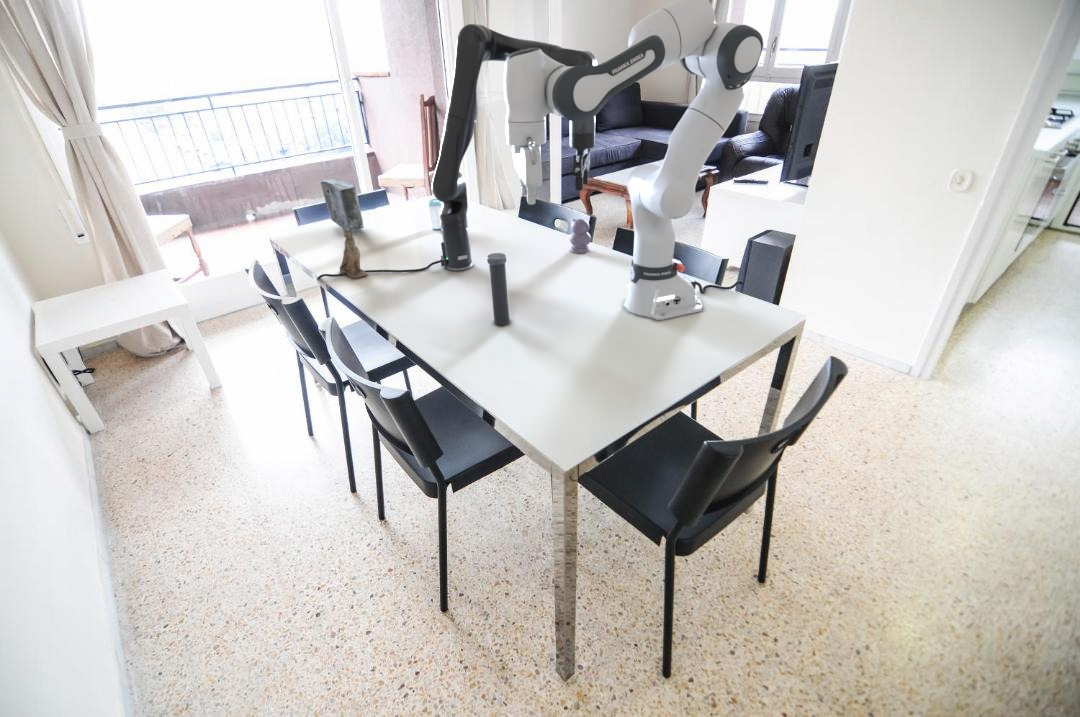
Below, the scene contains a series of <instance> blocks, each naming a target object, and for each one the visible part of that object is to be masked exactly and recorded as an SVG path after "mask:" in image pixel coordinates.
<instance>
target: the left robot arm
mask: <svg viewBox="0 0 1080 717" xmlns="http://www.w3.org/2000/svg"><path fill="white" fill-rule="evenodd" d="M529 48H540V49H541V50H542V52H543V53H545V54H546V55H547V56H549V57H550V58H552V59H553V60H555V61H557V62H559V63H561V64H564V65H565V66H584V65H586V66H595V65H598V60H597V57H596V56H595V54H594V53H592V51H589V50H578V49H572V48H566V47H562V46H560V45H557V44H552V43H549V42H543V41H538V40H530V39H522V38H516V37H512V36H509V35H505V34H503V33H501V32H498V31H496V30H493V29H491V28H488V27H486V26H485V25H483V24H477V23H468V24H466V25H464V26H462V28H461V29H460V31H459V32H458V35H457V38H456V45H455V55H454V56H455V57H454V58H455V59H454V70H453V75H452V76H453V78H452V81H451V82H452V83H451V87H450V91H449V99H448V103H447V108H446V113H445V119H444V125H443V132H442V137H441V142H440V149H439V155H438V160H437V164H436V166H435V171H434V173H433V177H432V182H431V191H432V194H433V197H434V198H435V199H437V200H439V201H440V202H443V203H442V208H441V211H440V214H439V215H440V223H441V229H440V230H441V235H442V242H441V243H440V246H441V250H442V251H441V253H442V255H440V260H435V261H433V262H431V263H429V264H428V265H427V266H424V267H421V268H415V269H413V268H412V269H367V270H366V269H365V270H364V271H365V273H366V274H368V273H414V272H415V273H417V272H422V271H425V270H429V268H431V267H432V266H433V265H437V264H440V267H444V269H445V270H449V271H454V272H459V271H467V270H469V269H471V268H472V266H473V260H472V250H471V242H470V234H469V224H468V216H467V213H468V209H469V208H468V207H469V206H468V191H467V183H466V180H465V178H464V176H463V174H462V173H461V172H460V169H461V165H462V162H463V159H464V156H465V155H466V152H467V150H468V149H469V147H470V144H471V141H472V140H473V137H474V133H475V128H476V124H477V119H478V110H479V109H478V108H479V107H478V106H479V105H478V81H479V77H480V73H481V68H482V65H483V63H485V62H490V61H491V62H505V61H506V59H507V57H508V56H509V55H510V54H511V53H513V52H516V51H519V50H523V49H529ZM595 144H596V115H595V116H594V117H593V118H591V119H590V120H588V121H585V122H580V123H578V122H572V121H570V120H569V148H571V149H574V150H576V151H575V152H576V153H575V154H573V155H572V156H573V157H572V158H573V171H572V172H573V173H572V175H573V177H574V178H575V180H574V182H575V185H574V186H575V188H574V189H575V190H576V191H583V189H584V185H588V183H589V172H590V167H591V149H594V147H595ZM343 276H344V277H345V276H347V273H336V274H333V273H323V274H320V275H319V276H317V278H316V280H321V279H322V278H323V277H329V278H330V277H332V278H335V277H336V278H337V277H338V278H339V277H343Z"/></svg>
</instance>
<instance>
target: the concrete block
mask: <svg viewBox="0 0 1080 717" xmlns="http://www.w3.org/2000/svg"><path fill="white" fill-rule="evenodd" d="M320 186H321V189H322V193H323V197H324V202H325V204H326V208H327V212H328V215H329V217H330V220H332V222H334V223H335V224H336V225H338V226H339V227H341V228H342V229H343V230H345V232H346V231H348V230H350V231H352V232H355V231H358V230H361V229H364V228H365V226H364V220H363V216H362V212H361V207H360V206H361V205H360V201H359V197H358V192H357V188H356V186H355V185H354V184H353V183H351V182H348V181H347V180H344V179H339V178H330V179H324V180H322V181H320Z"/></svg>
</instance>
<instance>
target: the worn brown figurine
mask: <svg viewBox="0 0 1080 717" xmlns="http://www.w3.org/2000/svg"><path fill="white" fill-rule="evenodd" d="M343 236H344V238H346V239H345V240H344V249H343V253H342V254H343V255H342V261H341V264H340V266H339V273H340V274H343V273H347V275H346V276H347V277H350V278H352V279H356V280H357V279H360V278H362V277H366V276H367V273H365V270H363V269H362V268H361V252H360V249H359V247H358V246H357V244H356V243H357V242H356V239H355V237H354V234H353V231H350V230H348V231H346V230H345V232H344V234H343Z"/></svg>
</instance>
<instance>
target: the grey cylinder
mask: <svg viewBox="0 0 1080 717" xmlns="http://www.w3.org/2000/svg"><path fill="white" fill-rule="evenodd" d="M488 268H489V278H490V279H489V280H490V289H491V290H490V291H491V299H492V300H491V301H492V310H493V311H492V312H493V321H494V325H495V326H498V327H504V326H507V325H509V324H510V310H509V298H508V296H509V295H508V284H507V283H508V282H507V271H506V262H505V263H504V264H501V265H490V264H488Z"/></svg>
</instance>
